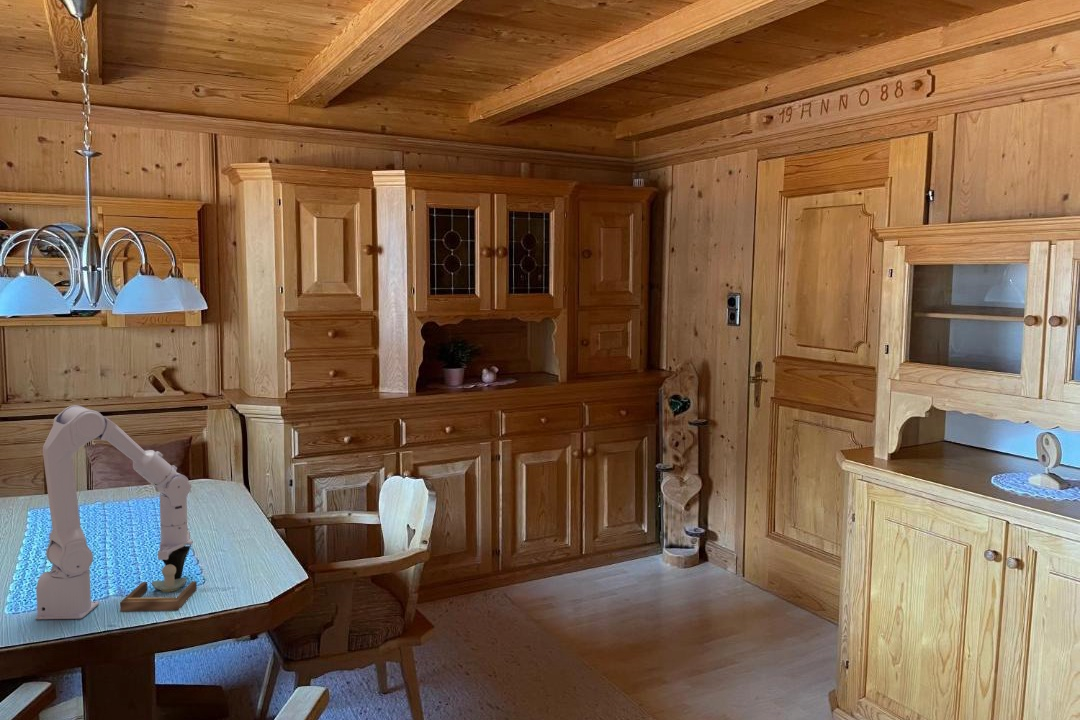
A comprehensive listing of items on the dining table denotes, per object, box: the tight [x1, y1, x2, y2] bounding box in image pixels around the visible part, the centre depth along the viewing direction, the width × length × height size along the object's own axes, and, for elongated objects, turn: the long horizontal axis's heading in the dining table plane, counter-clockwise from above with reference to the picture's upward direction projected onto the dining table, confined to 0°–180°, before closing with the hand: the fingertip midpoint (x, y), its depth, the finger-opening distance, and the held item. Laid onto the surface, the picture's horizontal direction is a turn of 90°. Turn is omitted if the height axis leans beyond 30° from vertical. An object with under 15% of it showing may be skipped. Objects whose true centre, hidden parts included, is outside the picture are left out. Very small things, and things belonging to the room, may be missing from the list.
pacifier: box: [151, 564, 188, 593], centre depth 182 cm, size 7×6×6 cm
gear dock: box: [119, 580, 198, 612], centre depth 176 cm, size 12×12×2 cm
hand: (175, 579), depth 185 cm, fingers closed
